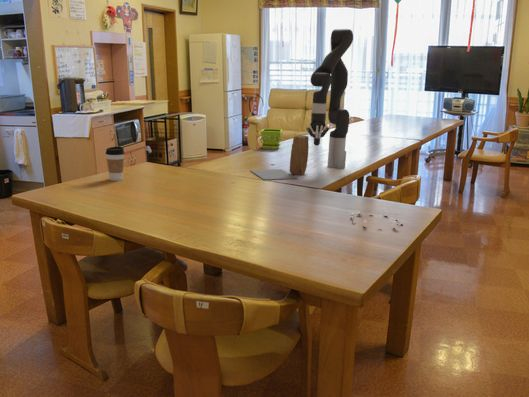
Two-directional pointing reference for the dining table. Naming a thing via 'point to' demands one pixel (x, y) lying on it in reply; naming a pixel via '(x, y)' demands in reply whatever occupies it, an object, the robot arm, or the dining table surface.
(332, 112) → the robot arm
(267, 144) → the flower pot
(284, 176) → the mat
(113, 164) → the coffee cup
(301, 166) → the sandstone rock
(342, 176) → the dining table surface
